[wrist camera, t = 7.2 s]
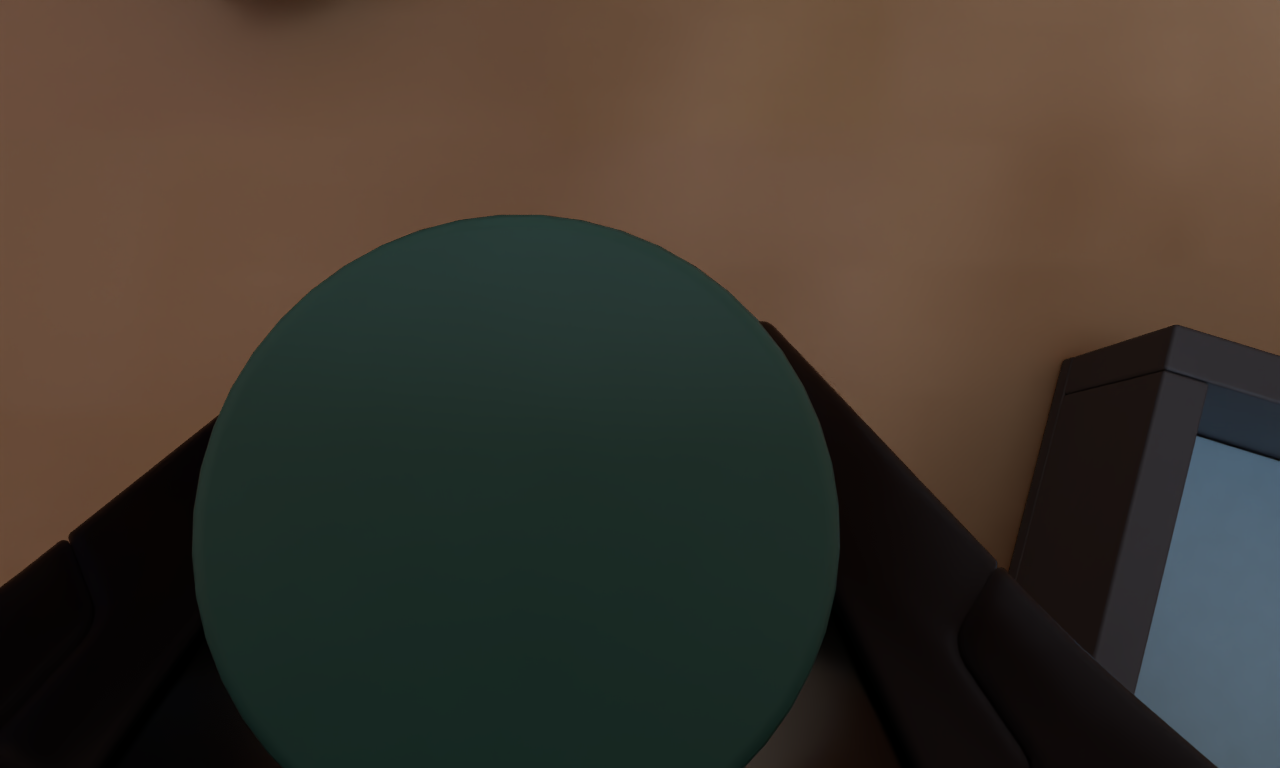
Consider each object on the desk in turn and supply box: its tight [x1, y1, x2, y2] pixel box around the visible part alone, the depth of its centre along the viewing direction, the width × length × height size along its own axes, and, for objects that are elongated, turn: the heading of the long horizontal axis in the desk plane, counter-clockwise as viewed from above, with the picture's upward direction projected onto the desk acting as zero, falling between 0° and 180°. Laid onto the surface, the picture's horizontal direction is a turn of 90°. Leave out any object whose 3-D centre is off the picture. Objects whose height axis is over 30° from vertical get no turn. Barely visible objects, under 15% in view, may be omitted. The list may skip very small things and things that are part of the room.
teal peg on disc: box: [192, 215, 840, 768], centre depth 10 cm, size 6×6×12 cm
